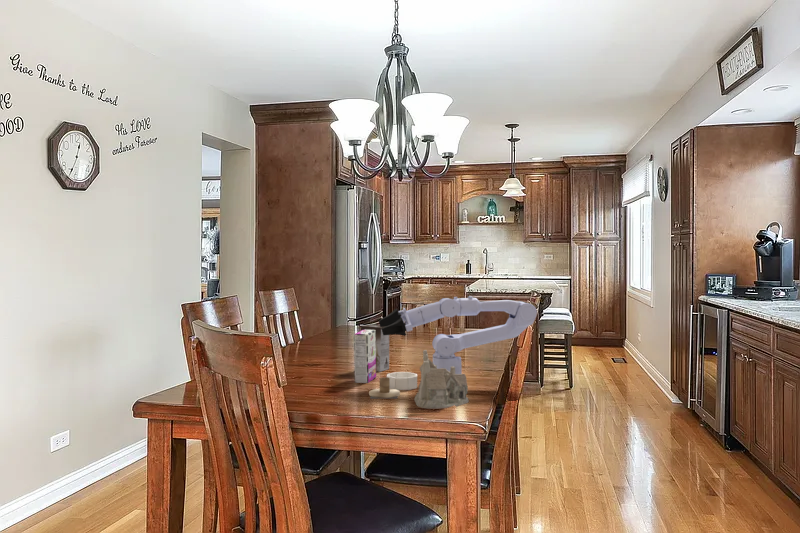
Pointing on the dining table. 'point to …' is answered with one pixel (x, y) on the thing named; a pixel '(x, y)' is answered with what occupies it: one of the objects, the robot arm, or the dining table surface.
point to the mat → (384, 398)
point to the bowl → (402, 380)
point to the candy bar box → (365, 356)
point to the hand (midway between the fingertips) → (380, 327)
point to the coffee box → (380, 347)
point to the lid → (384, 390)
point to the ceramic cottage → (440, 386)
